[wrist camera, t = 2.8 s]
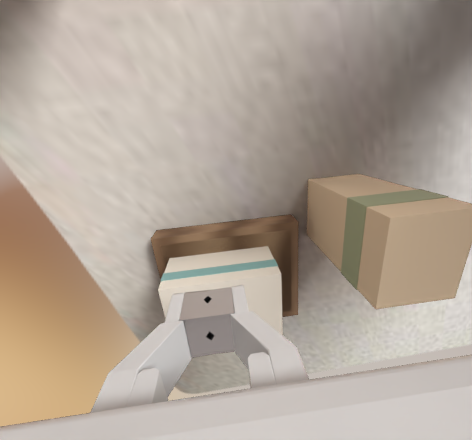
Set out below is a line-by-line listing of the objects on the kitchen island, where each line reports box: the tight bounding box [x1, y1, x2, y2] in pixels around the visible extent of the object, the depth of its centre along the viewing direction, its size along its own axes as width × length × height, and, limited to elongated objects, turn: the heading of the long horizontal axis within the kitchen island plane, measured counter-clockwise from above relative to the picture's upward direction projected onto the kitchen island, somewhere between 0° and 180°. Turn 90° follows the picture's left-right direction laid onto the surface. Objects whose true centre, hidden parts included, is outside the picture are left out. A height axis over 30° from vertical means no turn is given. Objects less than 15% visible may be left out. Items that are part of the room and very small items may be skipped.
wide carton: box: [158, 246, 283, 335], centre depth 24 cm, size 11×8×6 cm
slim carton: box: [307, 174, 472, 309], centre depth 21 cm, size 6×7×13 cm
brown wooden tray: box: [151, 215, 298, 317], centre depth 28 cm, size 16×13×2 cm
